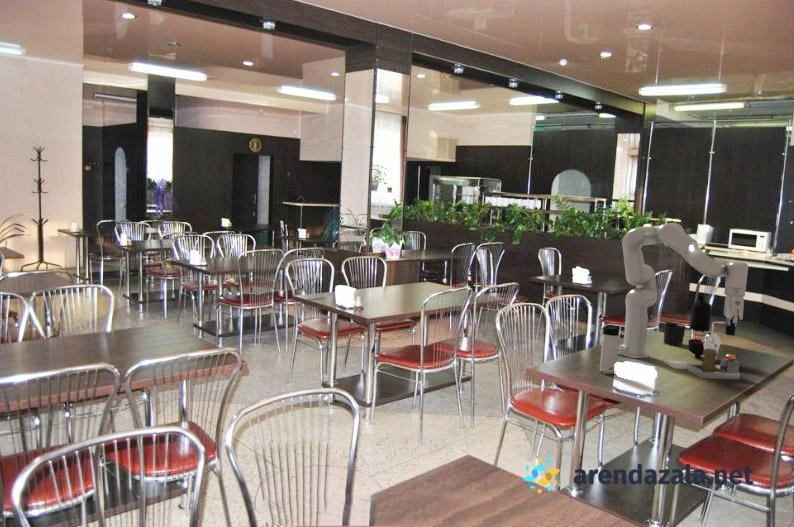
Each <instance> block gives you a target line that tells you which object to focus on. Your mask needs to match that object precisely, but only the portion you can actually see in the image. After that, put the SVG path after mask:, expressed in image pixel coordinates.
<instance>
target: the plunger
mask: <svg viewBox="0 0 794 527" xmlns="http://www.w3.org/2000/svg"><path fill="white" fill-rule="evenodd" d="M736 358H737V357H736V354H731V353H726V354H725V359H727V360H728V361H734V360H736Z"/></svg>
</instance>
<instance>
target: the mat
mask: <svg viewBox="0 0 794 527" xmlns="http://www.w3.org/2000/svg"><path fill="white" fill-rule="evenodd" d="M663 363H664V364H666V365H667V366H670V367H671V368H672V369H676V370H679V369H680V370H687V364H690V363H689V362H687V361H674V360H663Z"/></svg>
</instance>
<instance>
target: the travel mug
mask: <svg viewBox="0 0 794 527" xmlns="http://www.w3.org/2000/svg"><path fill="white" fill-rule="evenodd" d="M619 330H621V327H620V326H612V325H611V326H604V327H603V328H602V336H601V347H600V348H601V351H600V363H599V373H600V372H602V373H606V374H614V364H615V363H616V364H617V358H618V357H617V356H618V350H617V348H618V346H619V335H620V334H619V332H620V331H619ZM602 373H601V374H602ZM614 375H615V374H614Z"/></svg>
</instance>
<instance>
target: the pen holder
mask: <svg viewBox="0 0 794 527" xmlns="http://www.w3.org/2000/svg"><path fill="white" fill-rule="evenodd" d="M663 328H664V331H663V343H664V344H666V345H667V344H668V345H667V346H672V345H673V346H675V347H681V346H682V345H683V343H684V342H683V341H684V337H685V336H684V335H685V334H684V333H685V328H686V326H685V325H679V324H677V323H674V322H665V323H664V327H663ZM673 346H672V347H673Z"/></svg>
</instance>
